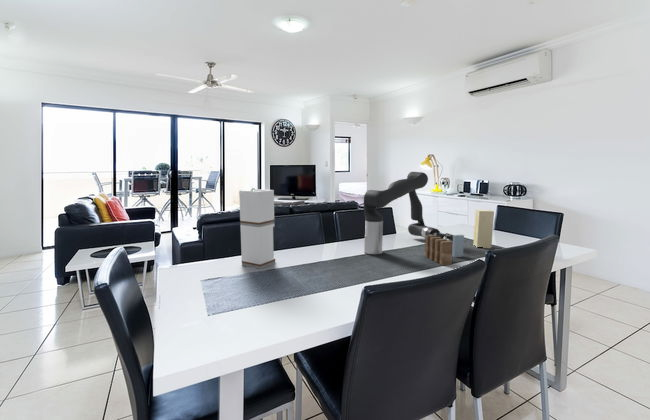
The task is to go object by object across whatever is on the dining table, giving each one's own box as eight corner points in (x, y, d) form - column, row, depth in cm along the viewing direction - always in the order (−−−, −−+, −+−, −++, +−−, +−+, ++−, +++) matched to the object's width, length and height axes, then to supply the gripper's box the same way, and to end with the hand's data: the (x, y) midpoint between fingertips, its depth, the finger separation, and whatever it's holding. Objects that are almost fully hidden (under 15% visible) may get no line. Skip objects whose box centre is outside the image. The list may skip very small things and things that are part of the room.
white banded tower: (275, 263, 163) (273, 190, 158) (260, 268, 154) (258, 191, 149) (257, 259, 169) (255, 189, 164) (241, 265, 160) (239, 190, 155)
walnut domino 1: (424, 256, 174) (425, 235, 172) (433, 256, 175) (434, 235, 174) (426, 257, 172) (427, 236, 170) (435, 257, 173) (436, 235, 172)
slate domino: (451, 256, 175) (453, 235, 173) (460, 255, 176) (461, 234, 174) (454, 257, 173) (455, 236, 171) (462, 256, 174) (464, 235, 173)
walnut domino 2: (429, 259, 170) (430, 237, 168) (438, 258, 171) (439, 236, 169) (431, 260, 168) (432, 238, 166) (440, 259, 169) (441, 237, 167)
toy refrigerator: (486, 245, 198) (489, 209, 195) (491, 248, 191) (494, 211, 188) (472, 245, 199) (474, 209, 196) (477, 248, 191) (479, 211, 189)
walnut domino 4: (439, 264, 161) (440, 241, 159) (448, 263, 162) (450, 240, 161) (441, 265, 159) (443, 242, 158) (451, 264, 160) (452, 241, 159)
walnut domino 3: (434, 261, 165) (435, 239, 164) (443, 260, 166) (444, 238, 165) (436, 262, 163) (437, 240, 162) (445, 262, 165) (447, 239, 163)
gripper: (419, 228, 197) (435, 233, 181) (441, 226, 200) (458, 232, 184) (419, 240, 198) (434, 247, 182) (441, 239, 201) (458, 245, 185)
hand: (446, 239), depth 183 cm, fingers open, 8 cm apart
